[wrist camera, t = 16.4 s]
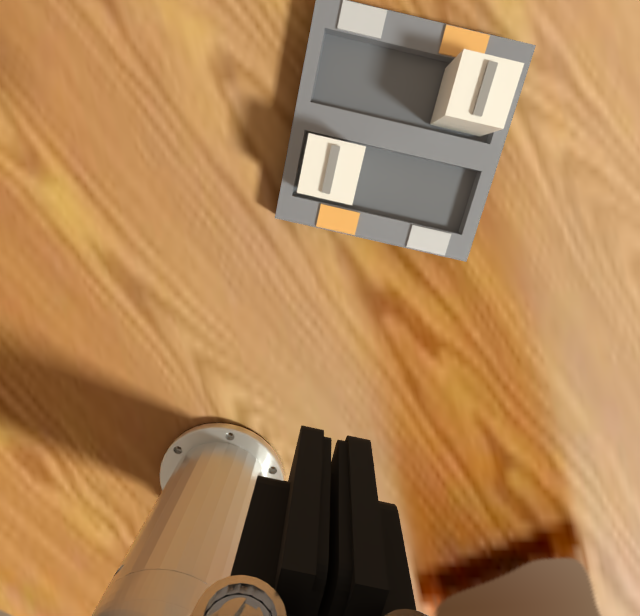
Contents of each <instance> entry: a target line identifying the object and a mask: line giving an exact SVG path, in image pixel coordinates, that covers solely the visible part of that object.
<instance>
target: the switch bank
mask: <svg viewBox="0 0 640 616" xmlns="http://www.w3.org/2000/svg"><path fill="white" fill-rule="evenodd" d="M535 46H536V45H532V44H527V43H523V42H519V41H515V40H511V39H507V38H503V37H498V36H494V35H490V34H486V33H482V32H478V31H473V30H469V29H465V28H461V27H457V26H453V25H449V24H444V23H440V22H436V21H432V20H428V19H424V18H419V17H415V16H411V15H407V14H403V13H399V12H395V11H390V10H386V9H382V8H378V7H374V6H370V5H366V4H361V3H357V2H353V1H349V0H316V2H315V7H314V12H313V18H312V23H311V28H310V34H309V39H308V44H307V50H306V55H305V60H304V66H303V71H302V76H301V82H300V87H299V92H298V98H297V103H296V108H295V114H294V119H293V124H292V130H291V135H290V140H289V146H288V151H287V156H286V161H285V167H284V172H283V177H282V183H281V188H280V193H279V199H278V204H277V209H276V215H275V218H277V219H281V220H286V221H290V222H294V223H299V224H303V225H308V226H312V227H316V228H321V229H325V230H330V231H334V232H338V233H343V234H347V235H352V236H356V237H360V238H365V239H369V240H374V241H378V242H382V243H387V244H391V245H395V246H400V247H404V248H409V249H413V250H417V251H422V252H426V253H431V254H435V255H439V256H444V257H448V258H453V259H457V260H461V261H467V258H468V255H469V252H470V249H471V246H472V242H473V239H474V236H475V233H476V230H477V227H478V224H479V221H480V217H481V214H482V211H483V208H484V205H485V202H486V199H487V196H488V193H489V189H490V186H491V183H492V180H493V177H494V174H495V171H496V168H497V165H498V161H499V158H500V155H501V152H502V149H503V146H504V143H505V140H506V136H507V133H508V130H509V127H510V124H511V121H512V118H513V115H514V112H515V108H516V105H517V102H518V99H519V96H520V93H521V90H522V87H523V83H524V80H525V77H526V74H527V71H528V68H529V65H530V62H531V59H532V55H533V52H534V49H535ZM463 49H467V50H471V51H475V52H480V53H484V54H488V55H492V56H496V57H500V58H505V59H509V60H513V61H517V62H521V63H524V66H523V69H522V72H521V75H520V78H519V82H518V85H517V88H516V91H515V94H514V97H513V100H512V104H511V107H510V110H509V113H508V116H507V119H506V123H505V126H504V129H502V130H499V131H496V132H492V133H489V134H486V135H483V136H476V135H471V134H467V133H463V132H459V131H454V130H450V129H446V128H442V127H437V126H433V125H430V122H431V119H432V115H433V111H434V108H435V104H436V100H437V97H438V93H439V89H440V85H441V82H442V78H443V74H444V71H445V68H446V67H447V66H448V65H449V64H450V63H451V62H452V61H453V60H454V58H455V57H456V56H457V55H458V54H459V53H460V52H461V51H462V50H463ZM309 133H310V134H315V135H319V136H323V137H328V138H332V139H336V140H341V141H345V142H349V143H353V144H358V145H362V146H366V149H365V153H364V157H363V162H362V166H361V170H360V174H359V179H358V183H357V187H356V191H355V196H354V200H353V204H352V205H348V204H344V203H340V202H335V201H331V200H326V199H322V198H318V197H313V196H309V195H305V194H300V193H297V189H298V184H299V179H300V174H301V169H302V164H303V159H304V154H305V149H306V144H307V139H308V134H309Z"/></svg>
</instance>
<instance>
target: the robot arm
mask: <svg viewBox="0 0 640 616" xmlns="http://www.w3.org/2000/svg"><path fill="white" fill-rule="evenodd" d="M159 475H160V485H161V488H162V492H161V494H160V496H159V498H158V499H157V501H156V503H155V505H154V506H153V508H152V510H151V512H150V514H149V515H148V517H147V519H146V521H145V522H144V524H143V526H142V528H141V529H140V531H139V533H138V535H137V536H136V538H135V540H134V542H133V544H132V545H131V547H130V549H129V551H128V552H127V554H126V556H125V558H124V559H123V561H122V563H121V565H120V566H119V568H118V570H117V572H116V573H115V575H114V577H113V579H112V581H111V582H110V584H109V586H108V588H107V589H106V591H105V593H104V594H103V596H102V598H101V600H100V601H99V603H98V605H97V607H96V609H95V611H94V613H93V614H92V616H427V615H425V614H423V613H421V612H419V611H416V606H415V601H414V595H413V590H412V584H411V579H410V574H409V568H408V563H407V557H406V552H405V546H404V541H403V535H402V530H401V525H400V519H399V514H398V510H397V507H396V505H395V504H390V503H386V502H381V501H378V495H377V487H376V479H375V471H374V463H373V456H372V448H371V442H370V440H366V439H362V438H357V437H352V436H347V437H346V440H345V441H342V440H337V443H336V446H335V450H334V454H333V458H332V461H331V438H328V437H324V430H320V429H315V428H311V427H306V426H301V429H300V434H299V438H298V442H297V446H296V450H295V455H294V459H293V463H292V467H291V472H290V476H289V480H288V482H287V481H284V476H285V475H284V471H283V466H282V464H281V461H280V459H279V457H278V455H277V454H276V452H275V451H274V449H273V448H272V447H271V446H270V445H269V444H268V443H267V442H266V441H265V440H264V439H263V438H262V437H260V436H259V435H257V434H256V433H254V432H252V431H250V430H248V429H246V428H243V427H240V426H237V425H233V424H226V423H210V424H204V425H200V426H196V427H194V428H192V429H190V430H188V431H186V432H184V433H183V434H181V435H180V436H179V437H178V438H176V440H175V441H174V442H173V443H172V444H171V445H170V447H169V448H168V450H167V452H166V453H165V455H164V457H163V460H162V463H161V467H160V474H159Z"/></svg>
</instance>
